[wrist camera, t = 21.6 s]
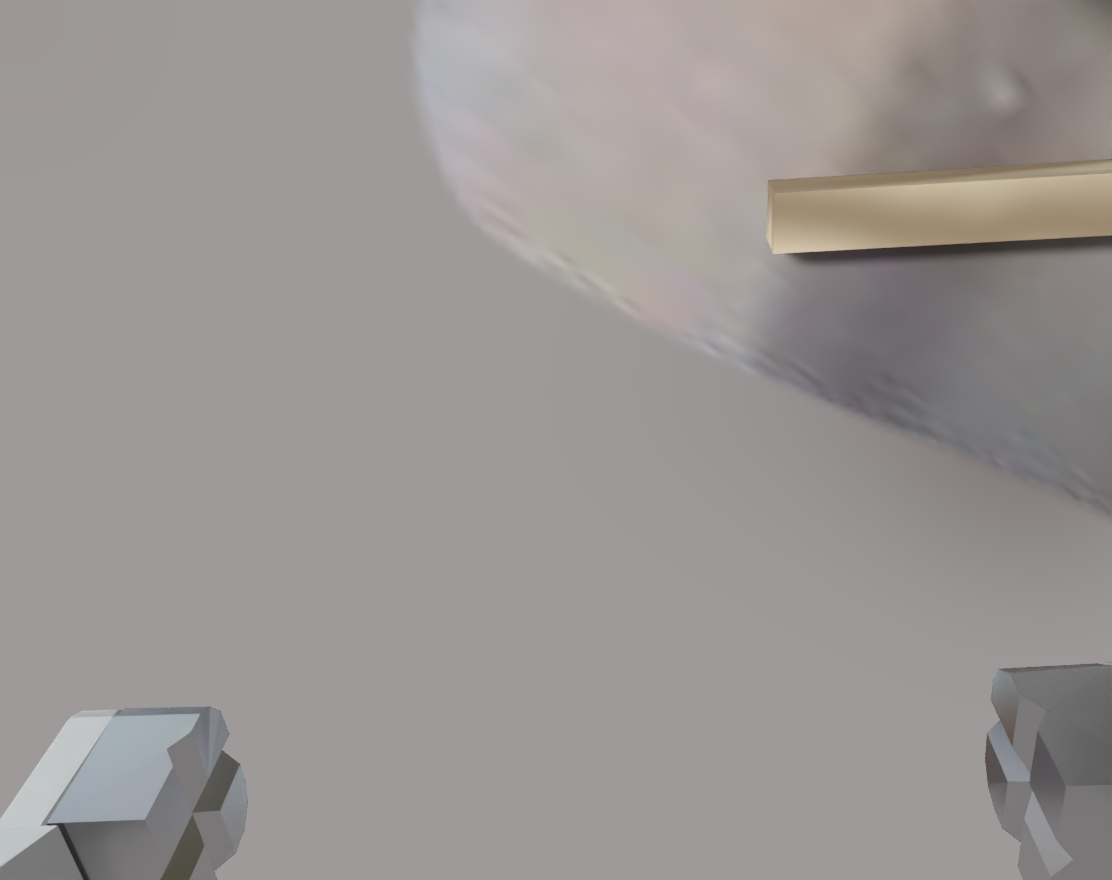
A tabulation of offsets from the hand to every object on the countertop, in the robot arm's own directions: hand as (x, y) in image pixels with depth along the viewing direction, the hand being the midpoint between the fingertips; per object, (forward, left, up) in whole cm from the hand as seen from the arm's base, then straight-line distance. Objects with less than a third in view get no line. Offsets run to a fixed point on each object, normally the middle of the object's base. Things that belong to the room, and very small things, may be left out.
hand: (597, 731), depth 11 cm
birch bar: (+4, +16, -34) cm, 37 cm away
